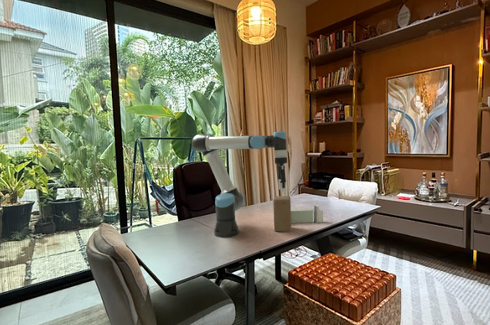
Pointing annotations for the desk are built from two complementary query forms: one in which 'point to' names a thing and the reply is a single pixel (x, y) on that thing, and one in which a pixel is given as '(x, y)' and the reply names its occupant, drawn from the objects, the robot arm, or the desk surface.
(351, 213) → the desk surface
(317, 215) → the l-shaped block
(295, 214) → the door
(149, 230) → the desk surface
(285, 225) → the wooden block
